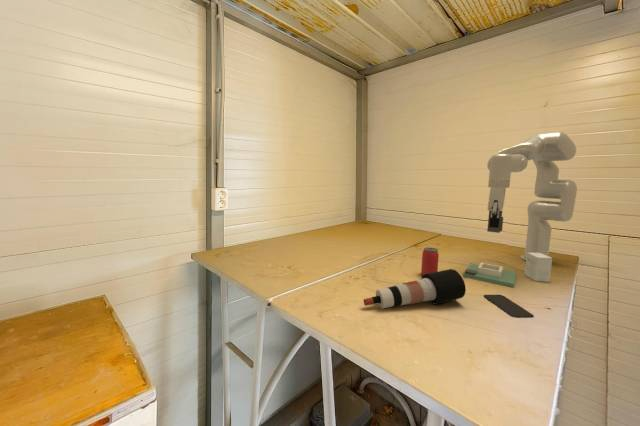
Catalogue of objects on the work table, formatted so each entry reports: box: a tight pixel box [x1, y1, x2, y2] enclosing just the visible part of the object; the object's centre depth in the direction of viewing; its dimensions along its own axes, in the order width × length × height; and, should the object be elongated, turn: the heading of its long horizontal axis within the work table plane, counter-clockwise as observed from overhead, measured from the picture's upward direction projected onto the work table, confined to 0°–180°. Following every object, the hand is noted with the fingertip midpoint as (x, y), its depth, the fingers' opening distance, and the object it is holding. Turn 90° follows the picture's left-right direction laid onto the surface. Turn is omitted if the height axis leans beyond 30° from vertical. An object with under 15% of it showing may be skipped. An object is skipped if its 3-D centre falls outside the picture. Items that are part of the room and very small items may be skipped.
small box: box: [524, 252, 553, 283], centre depth 113 cm, size 8×6×10 cm
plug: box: [486, 209, 504, 234], centre depth 113 cm, size 4×5×9 cm
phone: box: [483, 294, 535, 319], centre depth 89 cm, size 7×1×15 cm
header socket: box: [478, 262, 504, 278], centre depth 116 cm, size 8×8×2 cm
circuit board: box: [462, 263, 517, 288], centre depth 116 cm, size 18×18×2 cm
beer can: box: [420, 247, 440, 276], centre depth 116 cm, size 7×7×12 cm
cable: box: [363, 268, 467, 309], centre depth 89 cm, size 10×34×10 cm, turn 102°
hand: (494, 226), depth 113 cm, fingers closed on plug, 4 cm apart
